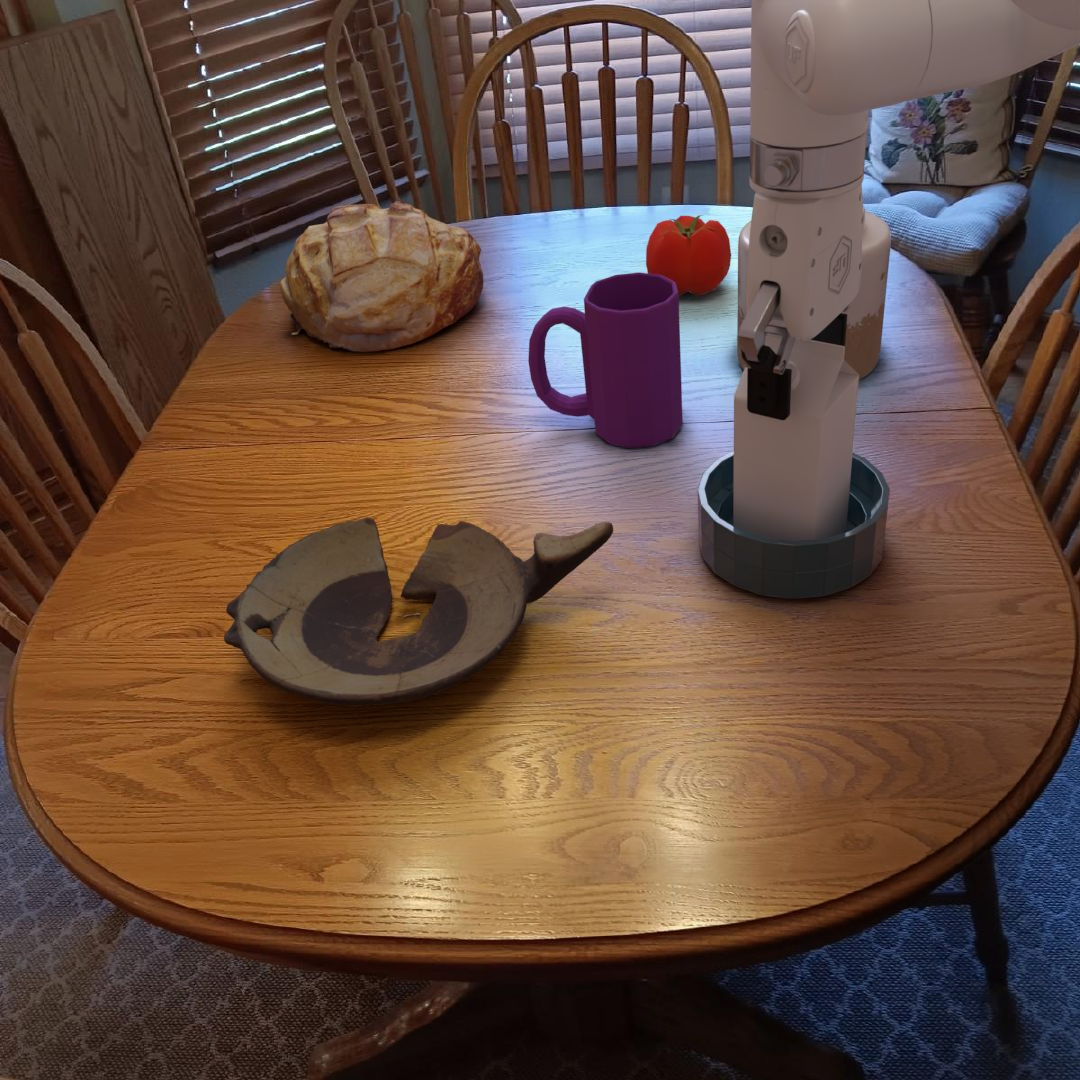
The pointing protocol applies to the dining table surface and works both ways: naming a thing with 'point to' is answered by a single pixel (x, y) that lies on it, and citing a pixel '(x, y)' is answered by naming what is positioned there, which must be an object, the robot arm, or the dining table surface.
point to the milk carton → (798, 449)
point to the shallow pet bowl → (793, 562)
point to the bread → (380, 277)
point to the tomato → (689, 253)
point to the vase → (862, 310)
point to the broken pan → (365, 603)
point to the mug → (621, 359)
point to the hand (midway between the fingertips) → (796, 385)
